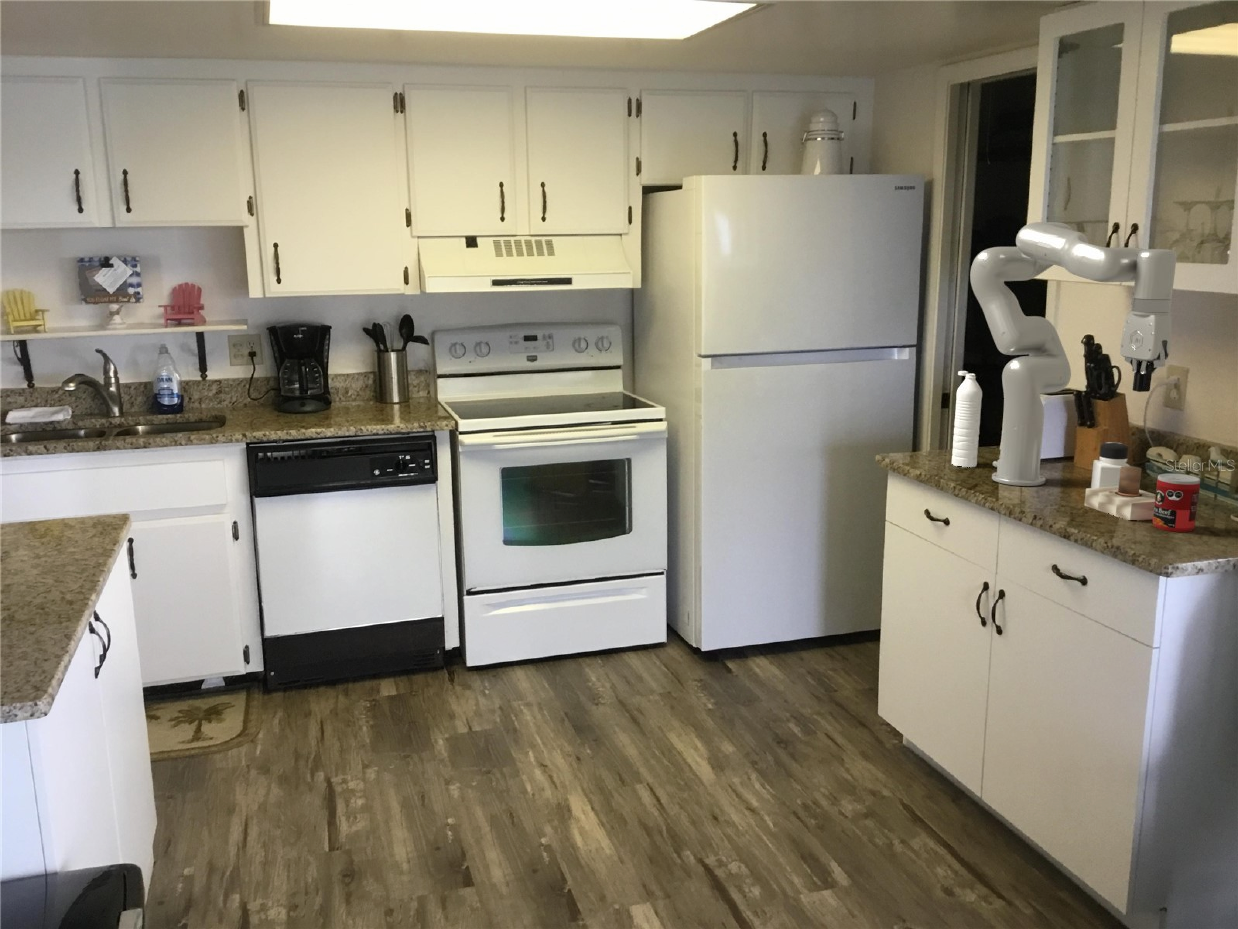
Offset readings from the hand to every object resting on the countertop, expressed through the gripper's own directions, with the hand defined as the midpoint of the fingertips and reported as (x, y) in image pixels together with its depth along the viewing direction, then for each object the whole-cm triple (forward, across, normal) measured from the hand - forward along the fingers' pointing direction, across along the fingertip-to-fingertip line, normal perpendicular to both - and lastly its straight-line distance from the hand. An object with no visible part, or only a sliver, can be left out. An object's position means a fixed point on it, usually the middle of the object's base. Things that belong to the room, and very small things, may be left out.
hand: (1141, 390), depth 227 cm
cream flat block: (+27, +1, -1) cm, 27 cm away
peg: (+27, +1, -1) cm, 27 cm away
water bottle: (+28, -52, -9) cm, 60 cm away
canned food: (+27, +15, -1) cm, 31 cm away
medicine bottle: (+28, -15, +8) cm, 33 cm away
